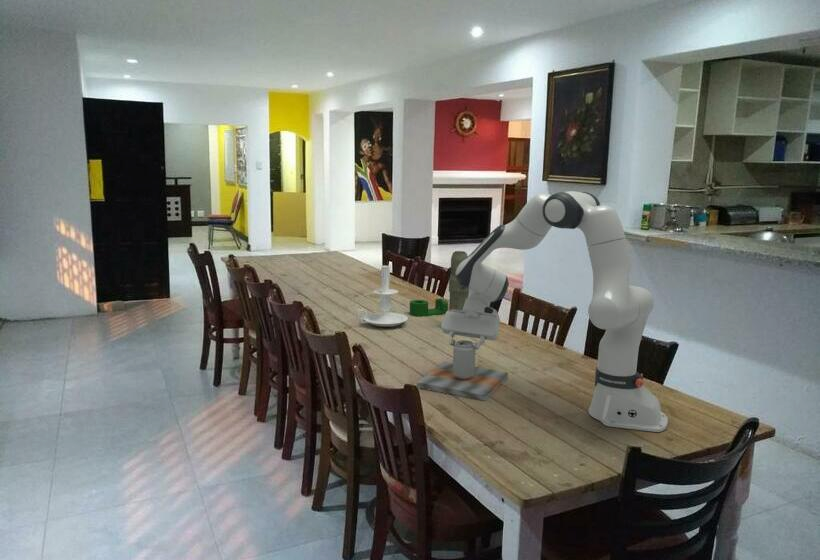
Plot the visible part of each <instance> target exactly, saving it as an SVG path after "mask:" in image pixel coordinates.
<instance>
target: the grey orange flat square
mask: <svg viewBox="0 0 820 560" xmlns="http://www.w3.org/2000/svg"><path fill="white" fill-rule="evenodd" d="M508 374H509V372H508V371H503V370H496V369H491V368H490V369H489V368H484V367H479V366H475V375H474V376H473V377H472V378H470V379H459V378H456V377H455V376H454V375H453V362H450V361H443V362H442V363H441V364H439V365H438V366H437V367H435V368H434V369H432V370H431V371H430V372H428V373H427V374H426V375H424V376H423V377H422V378H420V379H419V380H418V381H416V387H417V386H418V387H419V388H418V389H420V388H424V389H423V390H425V389H430V390H434V391H433V392H435V391H438V392H437V393H441V392H443V393H442V394H446V393H447V395H451V394H452V396H457V397H463V398H466V399H467V398H468V399H471V400H472V399H473V400H478V401H483V402H485V401H487V400H488V398H489V397H490V396H491V395H492V394H493V393H494V392H495V391H496V390H497V389H498V388H499V387H500V386H501V385H502V384H503V383H504V382H505V381H506V380H507V379H508V376H509V375H508ZM430 390H429V391H430Z"/></svg>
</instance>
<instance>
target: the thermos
mask: <svg viewBox="0 0 820 560" xmlns="http://www.w3.org/2000/svg"><path fill="white" fill-rule="evenodd" d="M468 256H469V255H468V253H467V252H466V251H462V250H456V251H453V252H452V254H451V258H450V275H449V279H448V292H449V301H448V302H449V303H448V311H449V310H451V309H454V310H463V307H464V304H465V301H466V299H467V297H468V292H469V288H466V287H463V286H461V285H459V284H458V282H457V280H456V277H455V273H456V270H457V267H458V266H459V264H460V263H461V262H462V261H463V260H464V259H465V258H466V257H468Z"/></svg>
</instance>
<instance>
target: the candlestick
mask: <svg viewBox="0 0 820 560" xmlns="http://www.w3.org/2000/svg"><path fill="white" fill-rule="evenodd" d="M390 267H391V264H390V265H382V266H381V271H380V272H381V276H380V277H381V284H380V285H381V286H380V288H376V289H374V290H373V291H372V293H375V294H377V295H380V296H381V299H380V300H379V302H378V303H379V304H378V305H379V308H380V310H382V311H381V312H373V313H372V312H371V313H367V311H366V309H356V316H357V319H359V321H360V323H361V324H370V325H372V326H375V327H376V326H377V327H382V328H385V327H396V326H399V325H401V324H403V323H404V322H406V321H408V320H409V319H408V316H407V315H405V314H403V313H398V312H389V310H390V309H391V308H392V305H393V303H392V300H391V298H390V296H392V295H394V294H398V293H399V290H397V289H393V288H390V279H391V278H390V277H391V276H390V274H391V270H390V269H391V268H390ZM361 312H364V315H363V316H362V317H360V313H361Z"/></svg>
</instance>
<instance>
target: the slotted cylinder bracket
mask: <svg viewBox="0 0 820 560" xmlns="http://www.w3.org/2000/svg"><path fill="white" fill-rule="evenodd" d="M448 302H449V301H447V300H444V299H443V298H436V299H435V302H434V303H435V307H433V308H429V301H428V300H424V299H413V300H410V301H409V315H410V316H411V317H416V318H417V317H418V318H419V317H421V318H423V316H424V317H433V315H435V316H444V315H443V314H446V312H447V311H449V303H448Z"/></svg>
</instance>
